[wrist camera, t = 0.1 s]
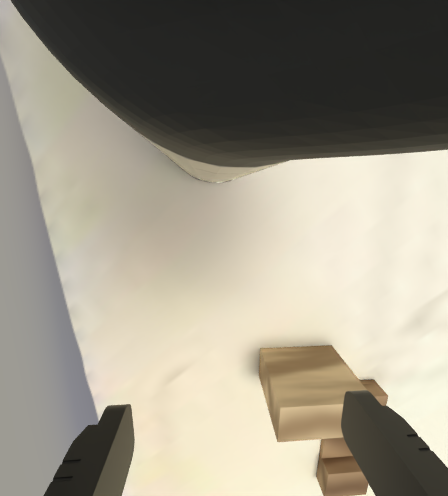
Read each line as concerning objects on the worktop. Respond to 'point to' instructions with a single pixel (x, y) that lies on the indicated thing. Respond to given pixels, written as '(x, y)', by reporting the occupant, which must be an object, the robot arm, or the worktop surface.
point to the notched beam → (344, 459)
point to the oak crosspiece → (305, 391)
